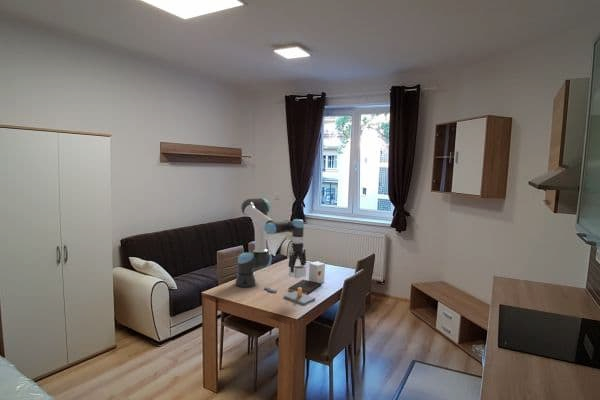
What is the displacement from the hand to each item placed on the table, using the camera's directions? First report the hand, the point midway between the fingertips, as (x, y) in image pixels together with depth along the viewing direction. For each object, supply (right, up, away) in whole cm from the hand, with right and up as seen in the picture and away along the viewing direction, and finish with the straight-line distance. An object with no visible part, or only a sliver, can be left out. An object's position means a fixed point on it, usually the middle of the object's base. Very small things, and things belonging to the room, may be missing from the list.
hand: (297, 275), depth 231 cm
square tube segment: (0, 0, 0) cm, 0 cm away
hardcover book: (+5, -15, +23) cm, 28 cm away
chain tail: (-20, -14, +15) cm, 29 cm away
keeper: (+1, -16, +1) cm, 16 cm away
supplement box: (+15, -13, +38) cm, 43 cm away
